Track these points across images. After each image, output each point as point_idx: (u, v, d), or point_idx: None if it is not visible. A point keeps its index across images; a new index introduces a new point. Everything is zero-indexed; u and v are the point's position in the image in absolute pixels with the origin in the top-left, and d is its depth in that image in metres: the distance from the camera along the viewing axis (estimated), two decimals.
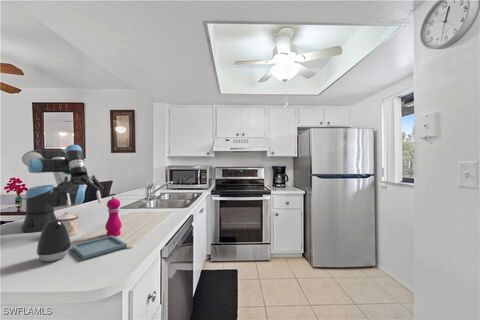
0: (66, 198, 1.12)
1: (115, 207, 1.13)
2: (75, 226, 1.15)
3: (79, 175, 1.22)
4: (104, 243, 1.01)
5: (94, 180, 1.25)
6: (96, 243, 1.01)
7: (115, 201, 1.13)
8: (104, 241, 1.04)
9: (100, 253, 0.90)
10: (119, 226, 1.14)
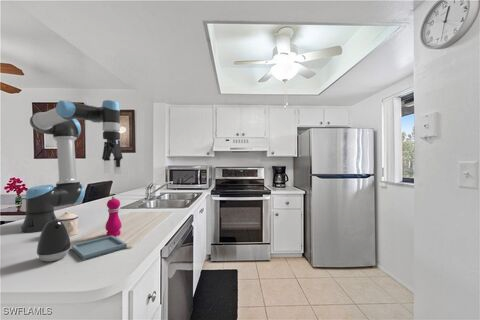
0: None
1: (115, 207, 1.13)
2: (75, 226, 1.15)
3: None
4: (104, 243, 1.01)
5: None
6: (96, 243, 1.01)
7: (115, 201, 1.13)
8: (104, 241, 1.04)
9: (100, 253, 0.90)
10: (119, 226, 1.14)
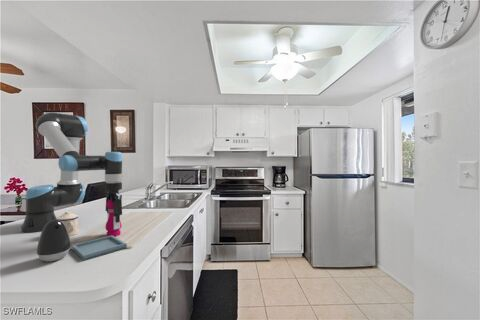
0: None
1: None
2: (75, 226, 1.15)
3: None
4: (104, 243, 1.01)
5: None
6: (96, 243, 1.01)
7: None
8: (104, 241, 1.04)
9: (100, 253, 0.90)
10: None
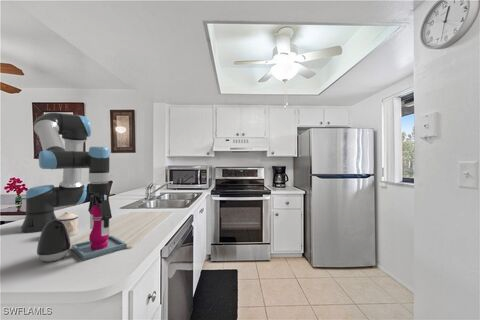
0: None
1: None
2: (75, 226, 1.15)
3: None
4: None
5: None
6: None
7: None
8: None
9: (100, 253, 0.90)
10: (106, 237, 0.96)
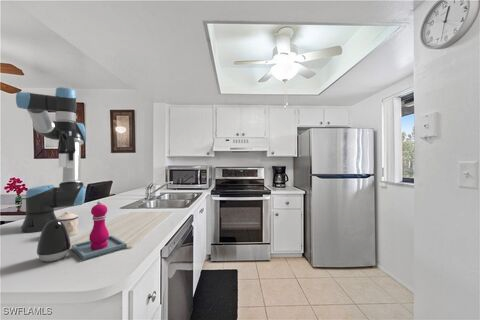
0: None
1: (101, 214, 0.96)
2: (75, 226, 1.15)
3: None
4: None
5: None
6: None
7: (101, 207, 0.96)
8: None
9: (100, 253, 0.90)
10: (106, 237, 0.97)
